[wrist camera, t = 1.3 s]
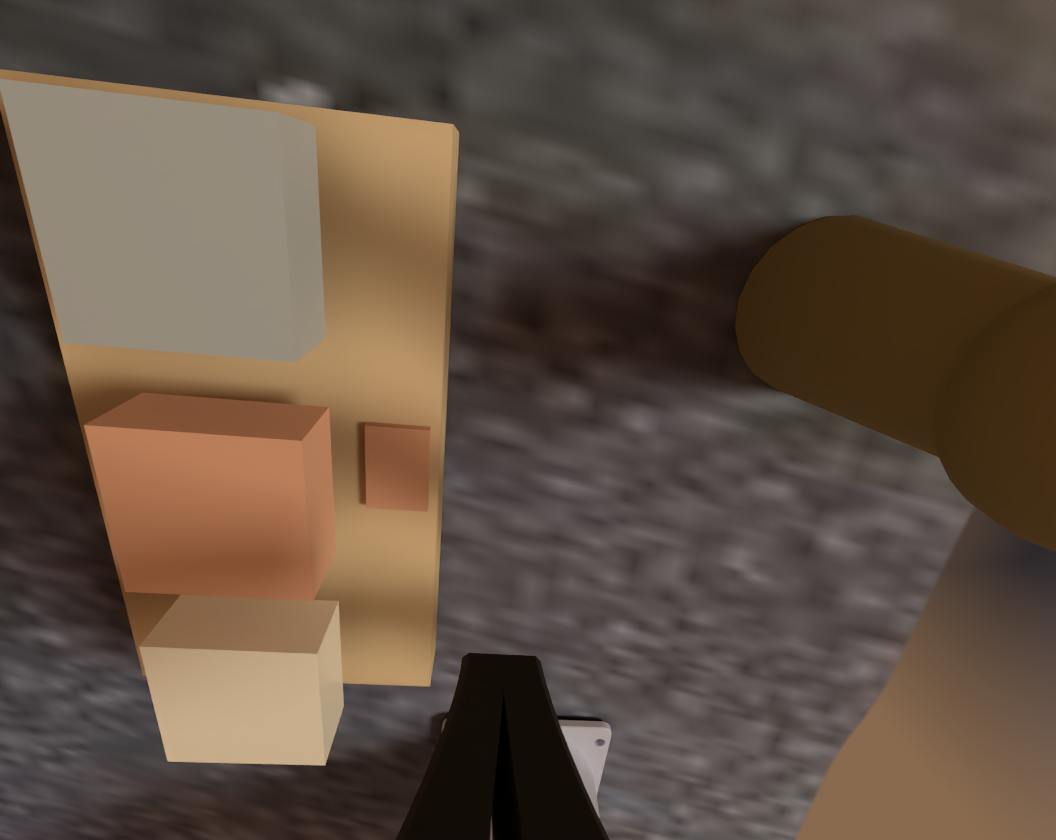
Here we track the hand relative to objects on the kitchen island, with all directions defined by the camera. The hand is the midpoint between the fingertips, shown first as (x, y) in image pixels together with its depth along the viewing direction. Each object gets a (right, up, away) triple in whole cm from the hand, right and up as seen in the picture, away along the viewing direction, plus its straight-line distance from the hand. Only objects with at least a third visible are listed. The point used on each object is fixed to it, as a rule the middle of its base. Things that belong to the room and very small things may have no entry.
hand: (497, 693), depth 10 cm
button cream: (-8, -3, +9) cm, 12 cm away
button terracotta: (-8, +3, +6) cm, 10 cm away
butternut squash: (+11, +9, +8) cm, 16 cm away
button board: (-8, +5, +9) cm, 13 cm away
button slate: (-7, +10, +3) cm, 12 cm away
